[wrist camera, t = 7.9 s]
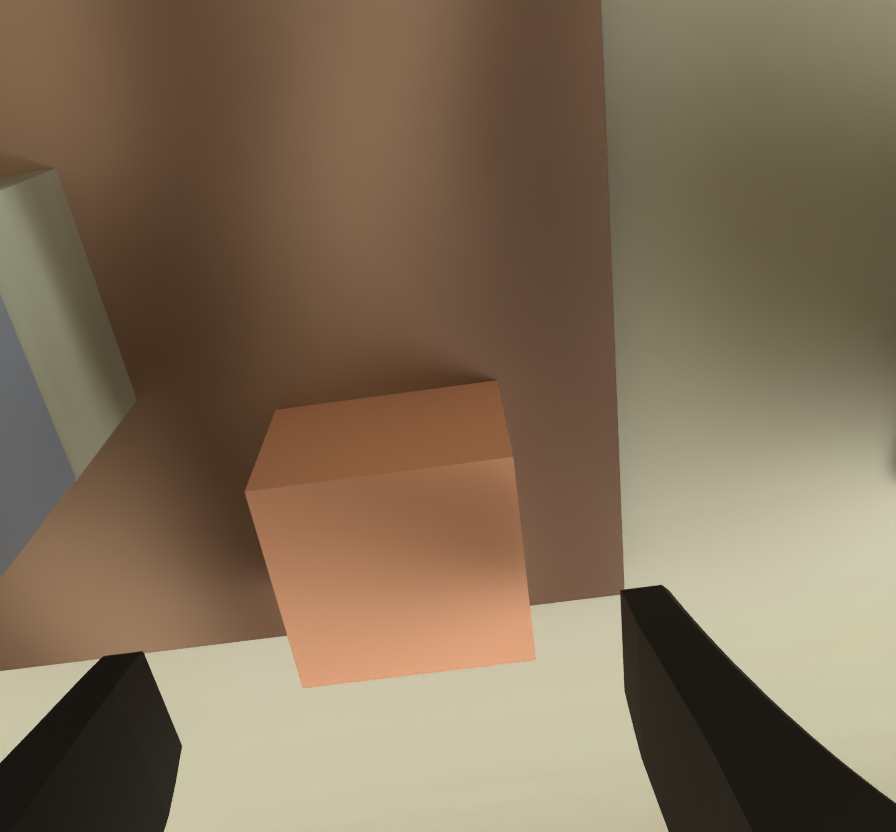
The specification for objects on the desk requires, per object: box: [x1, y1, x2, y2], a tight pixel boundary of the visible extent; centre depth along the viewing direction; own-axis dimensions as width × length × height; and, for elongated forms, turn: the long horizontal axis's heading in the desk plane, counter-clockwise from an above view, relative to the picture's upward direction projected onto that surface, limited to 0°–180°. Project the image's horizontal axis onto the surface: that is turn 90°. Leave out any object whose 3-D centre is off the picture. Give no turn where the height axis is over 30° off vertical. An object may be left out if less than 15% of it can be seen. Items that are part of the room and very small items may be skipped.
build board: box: [0, 0, 624, 671], centre depth 13 cm, size 15×16×4 cm
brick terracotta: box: [245, 380, 536, 688], centre depth 15 cm, size 4×4×3 cm
